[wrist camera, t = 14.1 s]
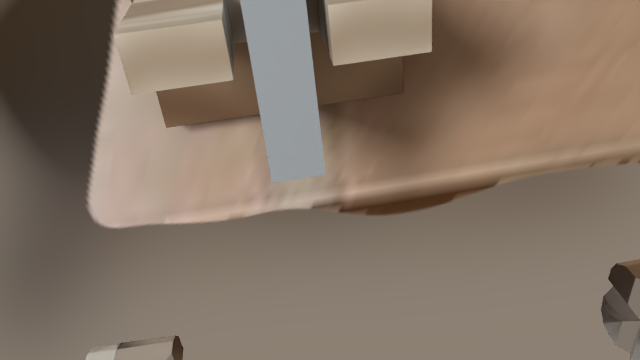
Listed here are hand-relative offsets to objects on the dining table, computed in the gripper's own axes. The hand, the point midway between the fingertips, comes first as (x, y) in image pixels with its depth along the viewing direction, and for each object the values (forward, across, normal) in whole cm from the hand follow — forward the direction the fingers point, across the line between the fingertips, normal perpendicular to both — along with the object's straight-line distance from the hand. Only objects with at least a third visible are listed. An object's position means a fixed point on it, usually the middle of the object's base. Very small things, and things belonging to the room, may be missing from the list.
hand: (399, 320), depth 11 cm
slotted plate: (+23, +1, 0) cm, 23 cm away
